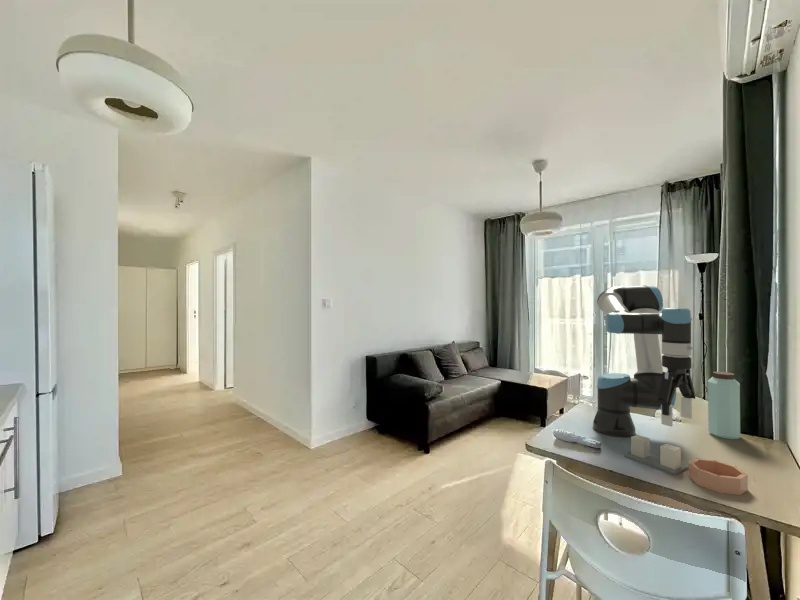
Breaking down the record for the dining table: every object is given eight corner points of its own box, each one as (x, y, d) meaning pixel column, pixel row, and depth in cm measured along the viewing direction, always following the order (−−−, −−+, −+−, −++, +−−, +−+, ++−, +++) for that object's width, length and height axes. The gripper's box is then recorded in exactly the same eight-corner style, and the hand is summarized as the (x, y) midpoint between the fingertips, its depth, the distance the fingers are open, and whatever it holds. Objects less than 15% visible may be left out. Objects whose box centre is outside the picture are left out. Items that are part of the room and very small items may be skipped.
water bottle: (733, 442, 134) (732, 376, 134) (702, 433, 143) (701, 372, 143) (747, 438, 138) (746, 374, 138) (715, 429, 147) (715, 369, 147)
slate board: (624, 456, 122) (624, 454, 122) (638, 451, 127) (638, 449, 127) (674, 475, 109) (674, 472, 109) (688, 468, 114) (688, 466, 114)
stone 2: (660, 464, 115) (660, 446, 115) (666, 461, 117) (666, 443, 117) (674, 469, 111) (674, 450, 111) (680, 466, 113) (680, 447, 113)
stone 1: (631, 454, 123) (631, 436, 123) (637, 451, 125) (637, 434, 125) (643, 458, 119) (643, 440, 119) (650, 455, 121) (649, 438, 121)
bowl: (683, 479, 107) (683, 464, 107) (701, 469, 113) (701, 455, 113) (735, 498, 96) (735, 482, 96) (752, 487, 102) (752, 471, 102)
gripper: (671, 360, 104) (672, 432, 104) (706, 353, 117) (707, 417, 117) (643, 357, 111) (644, 424, 111) (680, 351, 124) (680, 411, 124)
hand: (677, 421), depth 114 cm, fingers open, 13 cm apart
